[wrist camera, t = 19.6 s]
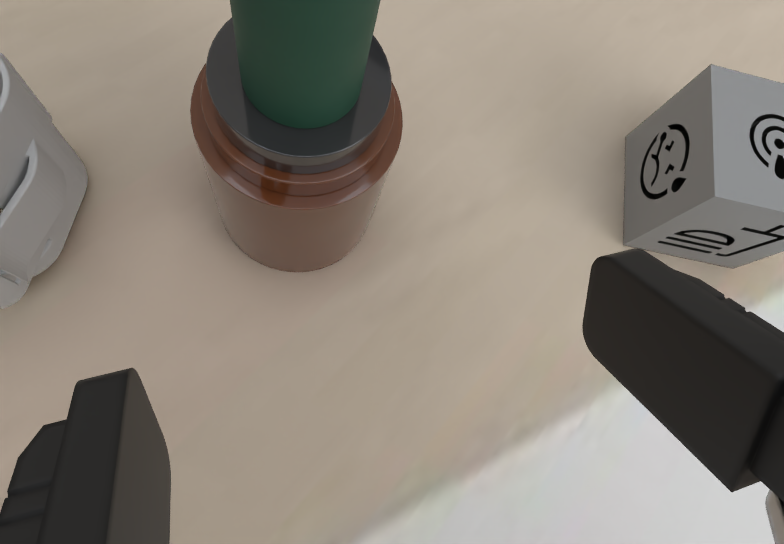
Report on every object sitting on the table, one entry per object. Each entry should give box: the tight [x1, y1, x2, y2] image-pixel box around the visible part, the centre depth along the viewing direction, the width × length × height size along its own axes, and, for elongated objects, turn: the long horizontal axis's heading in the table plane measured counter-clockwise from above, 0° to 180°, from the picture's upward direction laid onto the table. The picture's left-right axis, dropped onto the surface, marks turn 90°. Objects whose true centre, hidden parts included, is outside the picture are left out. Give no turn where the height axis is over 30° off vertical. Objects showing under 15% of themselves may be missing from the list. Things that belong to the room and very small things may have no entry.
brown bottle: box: [190, 18, 403, 272], centre depth 33 cm, size 11×11×15 cm
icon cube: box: [623, 64, 784, 268], centre depth 41 cm, size 10×10×10 cm
